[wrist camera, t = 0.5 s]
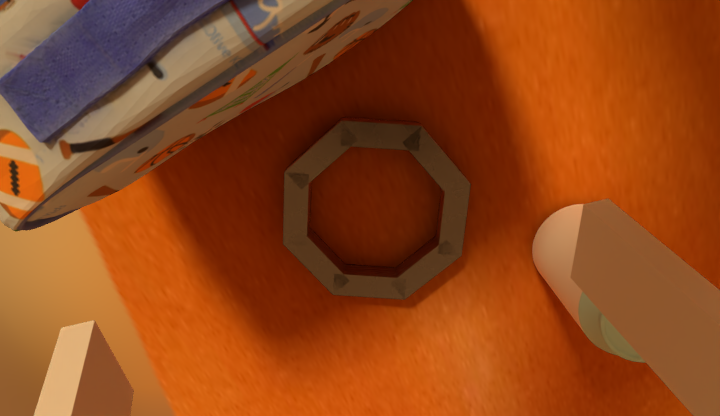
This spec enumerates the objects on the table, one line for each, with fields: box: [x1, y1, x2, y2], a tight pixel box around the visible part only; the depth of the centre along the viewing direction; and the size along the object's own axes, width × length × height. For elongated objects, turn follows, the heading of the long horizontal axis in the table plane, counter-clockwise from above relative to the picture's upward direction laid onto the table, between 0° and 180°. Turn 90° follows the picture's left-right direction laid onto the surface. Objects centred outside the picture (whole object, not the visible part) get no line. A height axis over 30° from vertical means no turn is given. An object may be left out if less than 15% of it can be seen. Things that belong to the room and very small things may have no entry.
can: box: [532, 204, 646, 363], centre depth 35 cm, size 7×7×12 cm
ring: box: [283, 117, 471, 299], centre depth 39 cm, size 14×14×2 cm
